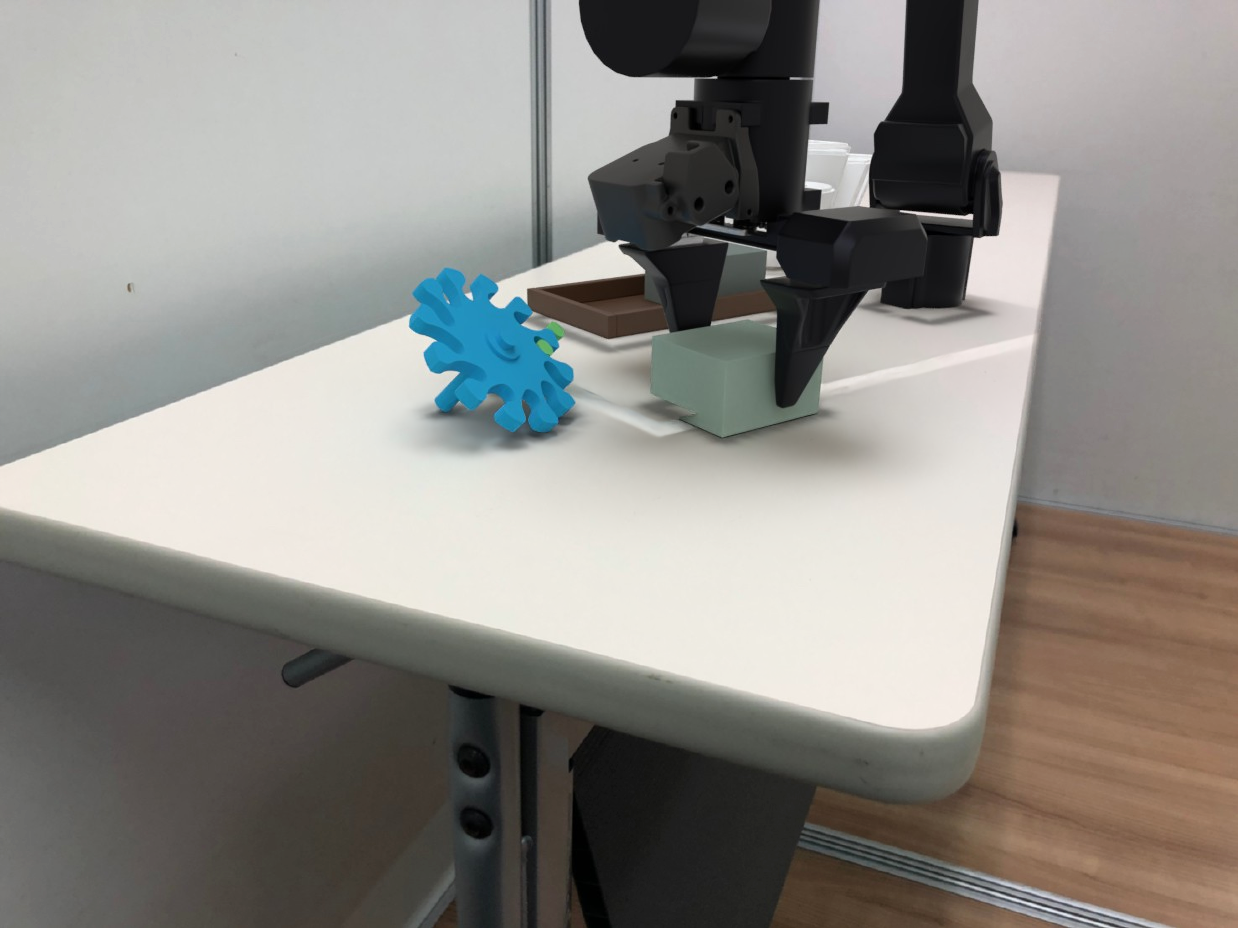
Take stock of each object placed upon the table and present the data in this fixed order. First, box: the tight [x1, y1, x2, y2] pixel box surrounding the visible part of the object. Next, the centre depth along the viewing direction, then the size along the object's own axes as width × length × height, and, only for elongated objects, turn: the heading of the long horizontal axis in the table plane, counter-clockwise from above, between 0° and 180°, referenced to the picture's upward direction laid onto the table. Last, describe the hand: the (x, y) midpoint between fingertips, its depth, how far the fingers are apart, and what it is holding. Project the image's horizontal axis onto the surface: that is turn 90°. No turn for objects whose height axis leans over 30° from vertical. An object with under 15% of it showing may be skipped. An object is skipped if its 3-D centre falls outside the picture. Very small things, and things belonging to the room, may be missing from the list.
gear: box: [408, 267, 577, 433], centre depth 51 cm, size 11×6×10 cm
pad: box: [644, 242, 767, 304], centre depth 74 cm, size 7×6×4 cm
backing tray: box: [526, 273, 777, 340], centre depth 72 cm, size 17×10×2 cm, turn 126°
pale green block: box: [650, 319, 824, 438], centre depth 52 cm, size 7×6×4 cm
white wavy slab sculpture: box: [705, 139, 873, 268], centre depth 100 cm, size 35×16×10 cm, turn 155°
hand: (735, 387), depth 53 cm, fingers open, 7 cm apart
